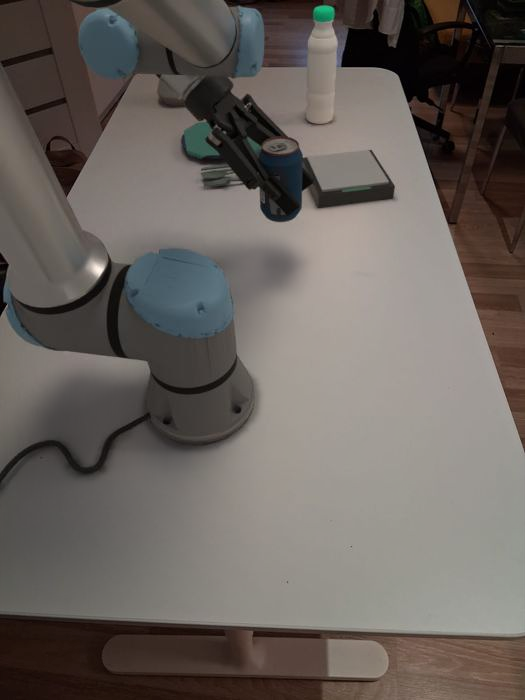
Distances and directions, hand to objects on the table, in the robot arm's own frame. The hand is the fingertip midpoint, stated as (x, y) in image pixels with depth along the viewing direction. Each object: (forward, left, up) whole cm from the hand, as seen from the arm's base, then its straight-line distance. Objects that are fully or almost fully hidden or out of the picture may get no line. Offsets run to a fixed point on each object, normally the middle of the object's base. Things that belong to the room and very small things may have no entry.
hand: (301, 197), depth 87 cm
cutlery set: (-8, +45, -14) cm, 48 cm away
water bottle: (+18, +58, -14) cm, 62 cm away
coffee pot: (-12, +78, -14) cm, 80 cm away
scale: (+16, +26, -14) cm, 33 cm away
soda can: (-3, +2, -4) cm, 5 cm away
